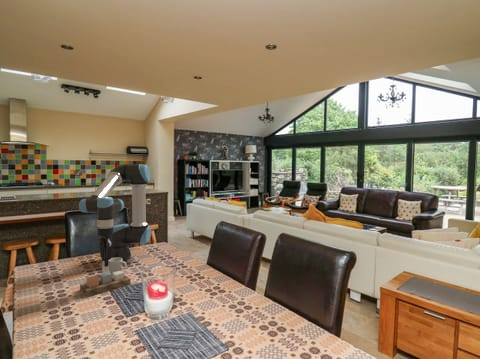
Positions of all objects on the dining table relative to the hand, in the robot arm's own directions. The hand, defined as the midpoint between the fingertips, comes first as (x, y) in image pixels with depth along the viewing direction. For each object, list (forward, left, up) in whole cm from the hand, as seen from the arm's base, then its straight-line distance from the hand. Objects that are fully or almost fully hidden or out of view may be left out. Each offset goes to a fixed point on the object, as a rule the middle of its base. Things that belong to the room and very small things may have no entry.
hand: (105, 272), depth 148 cm
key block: (0, 0, -8) cm, 8 cm away
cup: (-13, -16, -8) cm, 22 cm away
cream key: (-7, 0, -7) cm, 9 cm away
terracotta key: (+6, 0, -6) cm, 8 cm away
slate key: (0, 0, -6) cm, 6 cm away
